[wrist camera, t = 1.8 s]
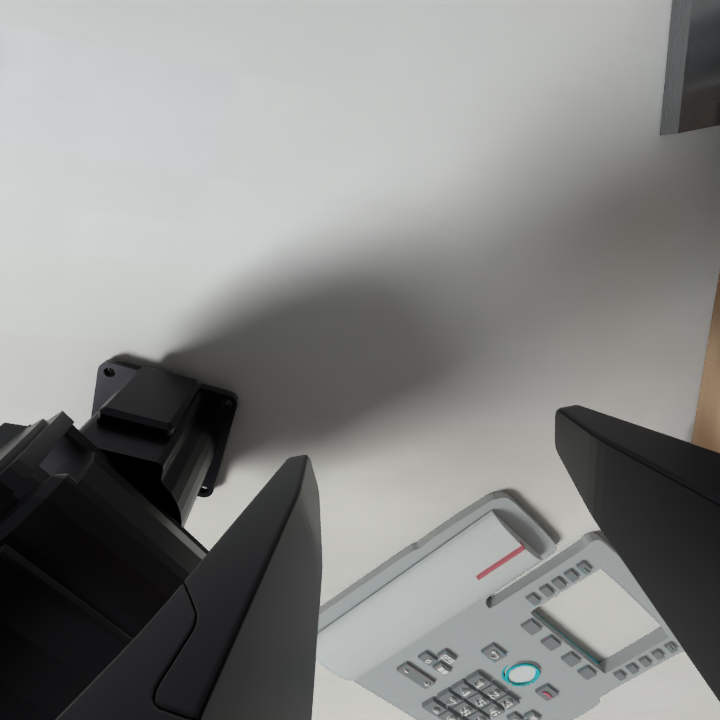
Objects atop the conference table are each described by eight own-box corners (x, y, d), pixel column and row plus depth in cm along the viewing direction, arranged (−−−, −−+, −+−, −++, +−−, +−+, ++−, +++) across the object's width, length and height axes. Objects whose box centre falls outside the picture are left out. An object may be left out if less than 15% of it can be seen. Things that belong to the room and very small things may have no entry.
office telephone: (278, 661, 27) (539, 478, 22) (283, 621, 29) (519, 448, 25) (494, 786, 34) (725, 668, 29) (484, 746, 37) (695, 631, 32)
